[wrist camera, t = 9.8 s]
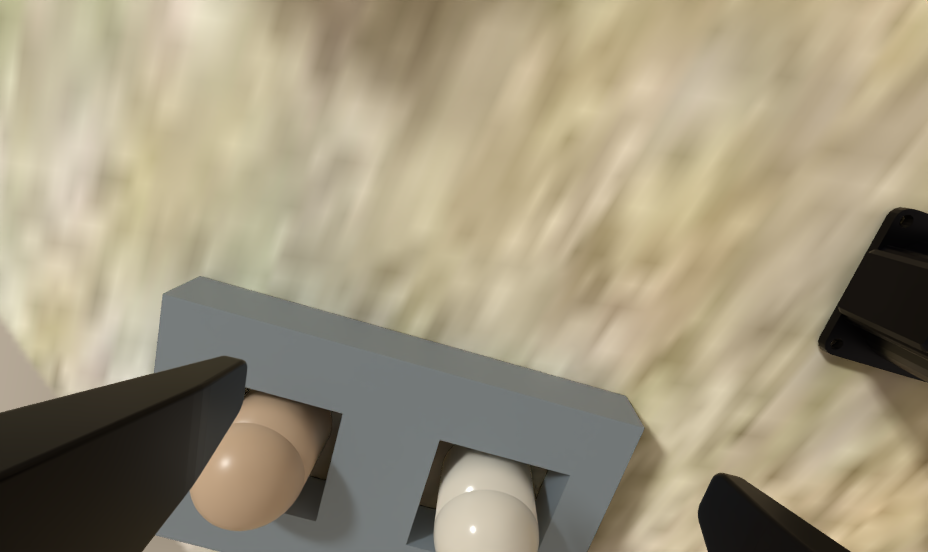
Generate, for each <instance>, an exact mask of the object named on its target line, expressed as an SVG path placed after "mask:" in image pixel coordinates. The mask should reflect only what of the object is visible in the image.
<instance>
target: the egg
mask: <svg viewBox="0 0 928 552" xmlns="http://www.w3.org/2000/svg"><path fill="white" fill-rule="evenodd" d="M433 537H434V546H435V551H436V552H538V547H539V528H538V520H537V513H536V505H535V498H534V490H533V483H532V475H531V468H530V464H526V463H523V462H519V461H515V460H512V459H508V458H504V457H500V456H497V455H493V454H489V453H486V452H482V451H478V450H475V449H471V448H467V447H464V446H460V445H456V444H455V445H454V446H453V447H452V448H451V449H450V450H449V451H448V453H447V454H446V456H445V458H444V460H443V464H442V470H441V477H440V485H439V492H438V500H437V507H436V515H435V522H434V536H433Z"/></svg>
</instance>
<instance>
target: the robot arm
mask: <svg viewBox="0 0 928 552" xmlns="http://www.w3.org/2000/svg"><path fill="white" fill-rule="evenodd" d="M903 216H904V218H905V219H904V222H903V223H902V224H901V225H900V220H901V218H902V217H903ZM835 339H836V342H835V343H834V344H833V345H831V342H832V341H833V340H835ZM818 344H819V346H820V348H821V349H823V350H824V351H826V352H828V353H830V354H832V355H835V356H838V357H842V358H845V359H849V360H852V361H856V362H859V363H862V364H866V365H869V366H873V367H876V368H879V369H883V370H886V371H890V372H893V373H897V374H900V375H903V376H907V377H910V378H914V379H917V380H921V381H924V382H927V383H928V213H924V212H921V211H918V210H915V209H909V208H902V207H899V208H895V209H893V210H892V211H890V212H889V214H888V215H887V216H886V218H885V220H884V221H883V223H882V225H881V227H880V229H879V230H878V232H877V234H876V236H875V238H874V240H873V241H872V243H871V245H870V247H869V249H868V250H867V252H866V254H865V256H864V258H863V259H862V261H861V263H860V265H859V267H858V268H857V270H856V272H855V274H854V276H853V277H852V279H851V281H850V283H849V285H848V287H847V288H846V290H845V292H844V294H843V296H842V297H841V299H840V301H839V303H838V305H837V306H836V308H835V310H834V312H833V314H832V315H831V317H830V319H829V321H828V323H827V324H826V326H825V328H824V330H823V332H822V334H821V335H820V337H819V340H818ZM246 377H247V363H246V361H245V360H242V359H238V358H234V357H230V356H219V357H215V358H212V359H208V360H204V361H200V362H196V363H192V364H188V365H184V366H180V367H176V368H173V369H169V370H165V371H161V372H157V373H153V374H149V375H145V376H141V377H137V378H134V379H130V380H126V381H122V382H118V383H114V384H110V385H106V386H102V387H98V388H95V389H91V390H87V391H83V392H79V393H75V394H71V395H67V396H63V397H59V398H55V399H52V400H48V401H44V402H40V403H36V404H32V405H28V406H24V407H20V408H17V409H13V410H9V411H5V412H1V413H0V552H142V551H143V550H144V548H145V547H146V546H147V545H148V543H149V542H150V541H151V540H152V538H153V537H154V536H155V535H156V533H157V532H158V531H159V529H160V528H161V527H162V526H163V524H164V523H165V522H166V520H167V519H168V518H169V517H170V515H171V514H172V513H173V511H174V510H175V509H176V508H177V506H178V505H179V504H180V502H181V501H182V500H183V499H184V497H185V496H186V495H187V493H188V492H189V491H190V489H191V488H192V487H193V485H194V484H195V482H196V481H197V479H198V478H199V476H200V475H201V473H202V471H203V470H204V468H205V467H206V465H207V463H208V462H209V460H210V459H211V457H212V455H213V454H214V452H215V451H216V449H217V447H218V446H219V444H220V442H221V441H222V439H223V438H224V436H225V434H226V433H227V431H228V430H229V428H230V426H231V425H232V423H233V422H234V420H235V418H236V417H237V415H238V413H239V412H240V409H241V407H242V404H243V400H244V393H245V385H246ZM698 520H699V524H700V527H701V530H702V534H703V537H704V540H705V544H706V547H707V550H708V552H850V551H849V550H847V549H846V548H844V547H843V546H841V545H840V544H839V543H837V542H836V541H834V540H833V539H831V538H830V537H828V536H827V535H825V534H824V533H822V532H821V531H819V530H818V529H816V528H815V527H813V526H812V525H810V524H809V523H808V522H806V521H805V520H803V519H802V518H800V517H799V516H797V515H796V514H794V513H793V512H791V511H790V510H788V509H787V508H785V507H784V506H782V505H781V504H779V503H778V502H777V501H775V500H774V499H772V498H771V497H769V496H768V495H766V494H765V493H763V492H762V491H760V490H759V489H757V488H756V487H754V486H753V485H751V484H750V483H748V482H747V481H746V480H744V479H742V478H740V477H738V476H734V475H729V474H725V473H718V474H716V475H715V476H713V478H712V480H711V482H710V484H709V486H708V488H707V490H706V492H705V495H704V497H703V499H702V501H701V503H700V505H699V509H698Z"/></svg>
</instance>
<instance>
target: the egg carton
mask: <svg viewBox="0 0 928 552" xmlns="http://www.w3.org/2000/svg"><path fill="white" fill-rule="evenodd" d="M219 356H230V357H234V358H238V359H242V360H245V361H246V363H247V377H246V385H245V387H246V388H250V389H251V390H250V391H249V393H248V394H247V395H246V396H245V397H244V400H243V404H242V407H241V409H240V412H239V413H238V415H237V417H236V418H235V420H234V422H233V423H232V425H231V426H230V428H229V430H228V431H227V433H226V434H225V436H224V438H223V439H222V441H221V442H220V444H219V446H218V447H217V449H216V451H215V452H214V454H213V455H212V457H211V459H210V460H209V462H208V463H207V465H206V467H205V468H204V470H203V471H202V473H201V475H200V476H199V478H198V479H197V481H196V482H195V484H194V485H193V487H192V488H191V489H190V491H189V492H188V493H187V495H186V496H185V497H184V499H183V500H182V501H181V502H180V504H179V505H178V506H177V508H176V509H175V510H174V511H173V513H172V514H171V515H170V517H169V518H168V519H167V520H166V522H165V523H164V524H163V526H162V527H161V528H160V529H159V531H158V532H157V533H156V535H157V536H160V537H164V538H168V539H172V540H176V541H180V542H184V543H188V544H192V545H196V546H200V547H204V548H208V549H212V550H216V551H220V552H436V551H435V546H434V537H433V536H434V522H435V515H436V510H435V509H431V508H427V507H424V506H420V505H419V503H420V500H421V497H422V493H423V490H424V487H425V484H426V481H427V478H428V475H429V472H430V469H431V466H432V462H433V459H434V456H435V453H436V450H437V447H438V444H439V441H440V440H442V441H445V442H449V443H453V444H456V445H460V446H464V447H467V448H471V449H475V450H478V451H482V452H486V453H489V454H493V455H497V456H500V457H504V458H508V459H512V460H515V461H519V462H523V463H526V464H530V465H534V466H537V467H541V468H545V469H548V471H547V474H546V476H545V479H544V481H543V484H542V486H541V489H540V491H539V493H538V496H537V498H536V501H535V505H536V513H537V520H538V528H539V547H538V552H587V551H588V549H589V547H590V545H591V542H592V540H593V538H594V536H595V534H596V532H597V530H598V527H599V525H600V523H601V521H602V519H603V517H604V514H605V512H606V510H607V508H608V506H609V504H610V502H611V499H612V497H613V495H614V493H615V491H616V489H617V487H618V484H619V482H620V480H621V478H622V476H623V474H624V471H625V469H626V467H627V465H628V463H629V461H630V459H631V456H632V454H633V452H634V450H635V448H636V446H637V443H638V441H639V439H640V437H641V435H642V433H643V431H644V426H643V424H642V423H641V421H640V419H639V417H638V416H637V414H636V412H635V410H634V409H633V407H632V405H631V404H630V402H629V400H628V398H627V397H626V396H624V395H620V394H617V393H613V392H610V391H606V390H603V389H599V388H595V387H592V386H588V385H585V384H581V383H578V382H574V381H571V380H567V379H563V378H560V377H556V376H553V375H549V374H546V373H542V372H539V371H535V370H532V369H528V368H524V367H521V366H517V365H514V364H510V363H507V362H503V361H500V360H496V359H492V358H489V357H485V356H482V355H478V354H475V353H471V352H468V351H464V350H460V349H457V348H453V347H450V346H446V345H443V344H439V343H436V342H432V341H429V340H425V339H421V338H418V337H414V336H411V335H407V334H404V333H400V332H397V331H393V330H389V329H386V328H382V327H379V326H375V325H372V324H368V323H365V322H361V321H357V320H354V319H350V318H347V317H343V316H340V315H336V314H333V313H329V312H325V311H322V310H318V309H315V308H311V307H308V306H304V305H301V304H297V303H294V302H290V301H286V300H283V299H279V298H276V297H272V296H269V295H265V294H262V293H258V292H254V291H251V290H247V289H244V288H240V287H237V286H233V285H230V284H226V283H222V282H219V281H215V280H212V279H208V278H205V277H201V276H199V277H197V278H195V279H193V280H191V281H189V282H187V283H185V284H182V285H180V286H178V287H176V288H174V289H172V290H170V291H168V292H166V293H164V294H163V297H162V306H161V315H160V324H159V333H158V342H157V351H156V359H155V368H154V373H157V372H161V371H165V370H169V369H173V368H176V367H180V366H184V365H188V364H192V363H196V362H200V361H204V360H208V359H212V358H215V357H219ZM330 410H331V411H335V412H338V413H342V414H343V415H342V419H341V423H340V427H339V431H338V435H337V439H336V443H335V447H334V451H333V455H332V459H331V463H330V467H329V471H328V475H327V480H326V481H325V480H321V479H317V478H314V477H310V476H309V475H310V473H311V471H312V469H313V467H314V465H315V463H316V461H317V459H318V457H319V455H320V453H321V451H322V450H323V448H324V446H325V444H326V442H327V440H328V438H329V436H330V433H331V428H332V418H331V413H330Z"/></svg>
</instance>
